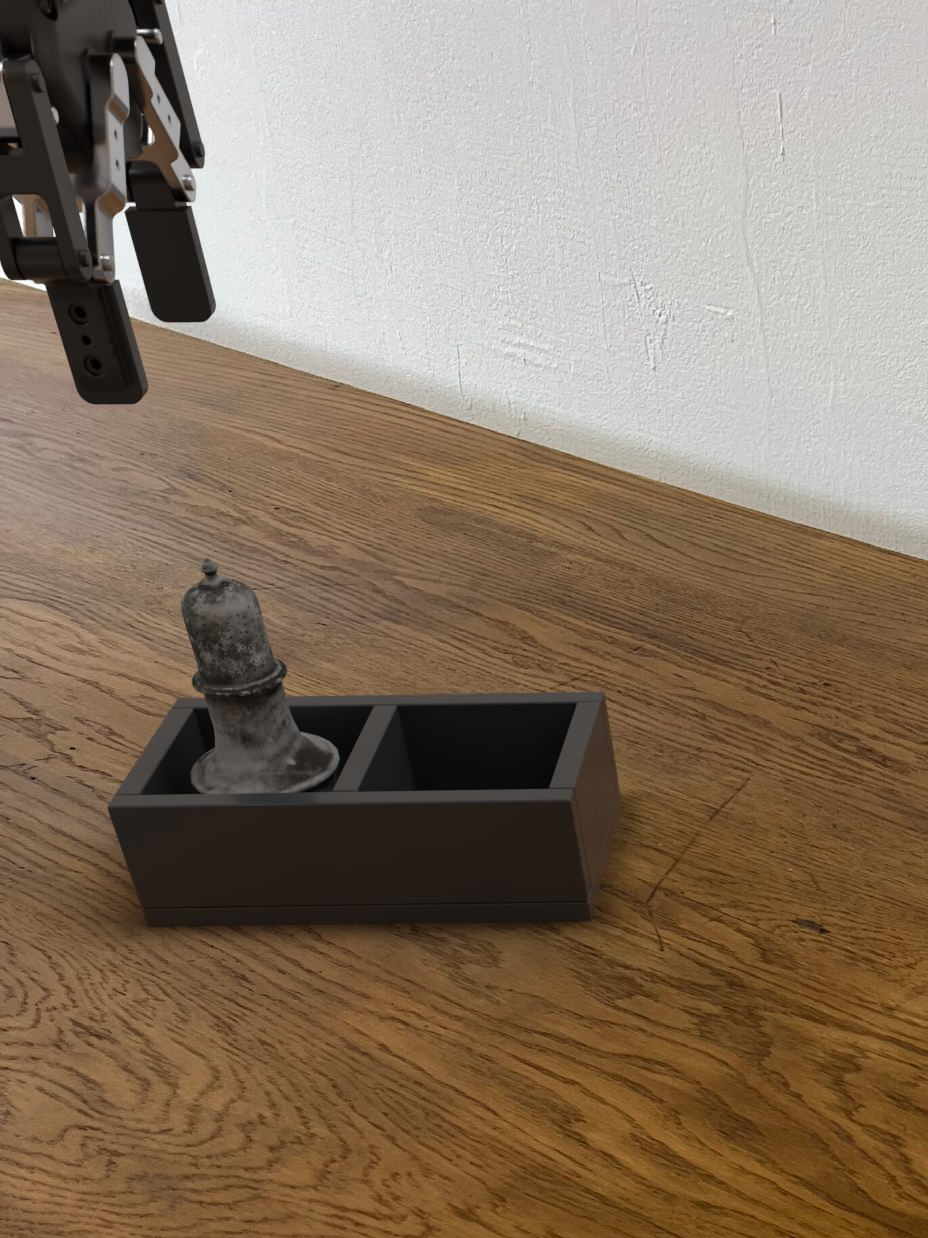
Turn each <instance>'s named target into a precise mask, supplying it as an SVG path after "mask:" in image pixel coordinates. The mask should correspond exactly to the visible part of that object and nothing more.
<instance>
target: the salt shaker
mask: <svg viewBox="0 0 928 1238" xmlns="http://www.w3.org/2000/svg"><path fill="white" fill-rule="evenodd" d="M219 568H220V566H218V565H217V564H215V562H214V560H213V561H212V560H210V558H209V557H205V558H204V559H203V561H202V563H201V566H200V568H199V571H200V572H201V573H202V574H204V577H203V578H201V580H200V581H198V582H196V583H195V584H193V585H192V586H191V587H190V588H189V589H187V591H185V593H184V594H183V597H182V599H181V601H180V609H181V611H180V612H181V615H182V620H183V622H184V625H185V629H186V633H187V636H188V639H189V642H190V646H191V650H192V652H193V656H194V659H195V662H196V667H197V669H198V670H197V671H195V672H194V674H193V675H192V677H191V685H192V687H193V688H194V689H195V690H196V692H198V693H200V694H203V696H204V697H203V698H205V700H206V703H207V707H208V710H209V713H210V717H211V720H212V724H213V727H214V732H215V748H213V749H212V750H210V751H208V752H207V753H205V754H204V755H203V756H202V757H201V758H200V759H199V760H198V761H197V762H196V763H195V764H194V766H193V768H192V771H191V773H190V776H191V782H192V785H193V786H194V787H195V788H196V789H197V791H198V792H200V793H201V794H242V793H310V792H332V791H333V788H334V786H335V784H336V782H337V778H336V774H335V771H336V769H337V767H338V764H339V761H340V758H339V754H338V750H337V748H336V747H335V746H334V745H333V744H332V743H331V742H329V741H328V740H326V739H324V738H321V737H319V736H317V735H312V734H308V733H304V732H300V731H299V729H298V727H297V725H296V724H295V722H294V719H293V717H292V715H291V713H290V709H289V705H288V702H287V698H286V696H287V694H286V691H285V687H284V683H283V680H284V679H285V678H286V676H287V675H288V667H287V664H286V663H285V662H284V661H283V660H282V659H280V658H277V657H275V656H274V653H273V651H272V645H271V642H270V639H269V636H268V632H267V628H266V624H265V620H264V617H263V613H262V610H261V606H260V602H259V599H258V596H257V595H256V592H255V591H254V590H253V589H252V588H251V587H249V585H247V584H246V583H244V582H242V581H240V580H237V579H234V578H230V577H224V576H222V575H218V573H217V572H218V570H219Z"/></svg>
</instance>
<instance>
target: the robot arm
mask: <svg viewBox="0 0 928 1238" xmlns="http://www.w3.org/2000/svg"><path fill="white" fill-rule="evenodd" d="M196 117H197V116H196V114H195V110H194V106H193V103H192V99H191V94H190V91H189V87H188V84H187V80H186V76H185V72H184V68H183V64H182V61H181V57H180V53H179V50H178V45H177V42H176V38H175V35H174V30H173V26H172V23H171V20H170V15H169V12H168V7H167V4H166V0H0V266H1V268H2V271H3V273H4V275H5V276H6V278H7V279H8V280H9V281H32V282H33V283H34V284H36V285H44V287H45V290H46V294H47V297H48V300H49V304H50V307H51V310H52V314H53V317H54V320H55V323H56V326H57V330H58V333H59V336H60V340H61V343H62V347H63V349H64V353H65V357H66V359H67V363H68V366H69V369H70V372H71V376H72V378H73V383H74V386H75V389H76V392H77V394H78V395H79V397H80V398H81V399H82V400H83V401H85V402H87V403H88V404H90V405H96V406H97V405H99V406H100V405H102V406H103V405H106V406H107V405H135V404H138V403H140V401H141V400H142V399H143V398H144V396H145V395H146V394H147V393H148V391H149V382H148V377H147V374H146V370H145V368H144V363H143V360H142V357H141V352H140V349H139V346H138V342H137V339H136V335H135V332H134V327H133V324H132V321H131V317H130V314H129V310H128V307H127V302H126V299H125V295H124V292H123V289H122V285H121V281H120V279H116V257H115V255H116V254H115V239H114V238H115V237H114V218H115V216H116V215H118V214H119V213H121V212H122V211H123V212H124V216H125V219H126V223H127V228H128V230H129V234H130V235H129V236H130V238H131V242H132V246H133V249H134V253H135V256H136V260H137V264H138V268H139V271H140V275H141V278H142V282H143V286H144V290H145V292H146V297H147V300H148V304H149V308H150V311H151V313H152V314H153V316H154V317H155V318H156V319H157V320H159V321H160V322H164V323H166V324H167V323H169V324H170V323H171V324H173V323H177V324H178V323H179V324H180V323H205V322H207V321H208V320H209V319H210V318H211V317H212V315H213V314H215V312H216V310H217V309H216V308H217V303H216V298H215V294H214V290H213V286H212V283H211V278H210V274H209V270H208V266H207V262H206V258H205V255H204V250H203V246H202V242H201V239H200V234H199V231H198V227H197V223H196V218H195V215H194V210H193V207H192V205H188V203H195V202H196V198H197V181H196V179H195V176H194V174H193V171H192V170H193V169H194V170H197V169H198V170H200V169H204V167H205V162H206V159H205V157H206V149H205V146H204V143H203V141H202V137H201V133H200V129H199V126H198V122H197V118H196ZM14 200H16V201H17V203H19V204H20V205H21V220H22V227H21V223H20V219H19V215H18V212H17V208H16V205H15V201H14ZM127 204H135V205H129V206H128V207H127V208H125V207H126V205H127ZM124 209H125V210H124ZM81 214H82V218H81ZM54 235H55V236H54Z"/></svg>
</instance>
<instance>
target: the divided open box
mask: <svg viewBox="0 0 928 1238" xmlns="http://www.w3.org/2000/svg"><path fill="white" fill-rule="evenodd" d="M286 698H287V702H288V705H289V709H290V713H291V715H292V717H293V719H294V722H295V724H296V725H297V727H298V729H299V731H300V732H304V733H308V734H312V735H317V736H319V737H321V738H324V739H326V740H328V741H329V742H331V743H332V744H333V745H334V746H335V747H336V748H337V750H338V754H339V758H340V761H339V764H338V767H337V769H336V771H335V774H336V778H337V782H336V784H335V786H334V788H333V791H332V792H310V793H242V794H201V793H200V792H198V791H197V789H196V788H195V787H194V786H193V785H192V782H191V776H190V773H191V771H192V768H193V766H194V764H195V763H196V762H197V761H198V760H199V759H200V758H201V757H202V756H203V755H204V754H205V753H207V752H208V751H210V750H212V749H213V748H215V732H214V727H213V724H212V720H211V717H210V713H209V710H208V707H207V703H206V700H205V697H178V698H176V700H175V701H174V703H173V705H172V706H171V708H169V710H168V712H167V713H166V714H165V716H164V718H163V720H162V721H161V722H160V724H159V726H158V727H157V729H156V730H155V732H153V735H152V737H151V738H150V739H149V741H148V743H147V744H146V745H145V747H144V749H143V750H142V752H141V753H140V754H139V757H138V758H137V759H136V761H135V762H134V764H133V766H132V767H131V768H130V770H129V772H128V773H127V775H126V776H125V778H124V780H123V781H122V782H121V784H120V785H119V787H118V789H117V790H116V791H115V794H114V796H113V797H112V799H111V800H110V801H109V803H108V805H107V807H106V809H107V811H108V815H109V817H110V820H111V823H112V826H113V829H114V832H115V835H116V837H117V841H118V843H119V846H120V849H121V852H122V855H123V858H124V861H125V865H126V867H127V870H128V872H129V875H130V878H131V882H132V884H133V888H134V890H135V893H136V896H137V899H138V901H139V902H138V903H139V904H140V907H141V911H142V914H143V917H144V920H145V923H146V926H147V928H186V927H187V928H189V927H190V928H191V927H196V928H197V927H257V926H258V927H259V926H262V927H263V926H322V925H325V926H326V925H327V926H328V925H330V926H331V925H389V924H390V925H391V924H393V925H395V924H397V925H398V924H399V925H400V924H457V923H458V924H463V923H464V924H466V923H469V924H470V923H521V922H522V923H527V922H528V923H529V922H530V923H533V922H536V923H537V922H538V923H539V922H590V921H592V920H593V918H594V917H593V916H594V913H595V910H596V906H597V903H598V899H599V896H600V895H599V894H600V892H601V888H602V884H603V881H604V877H605V874H606V870H607V867H608V863H609V858H610V855H611V851H612V848H613V844H614V841H615V836H616V834H617V830H618V825H619V822H620V818H621V815H622V812H623V808H624V807H623V801H622V794H621V790H620V783H619V777H618V770H617V763H616V757H615V751H614V745H613V739H612V738H613V737H612V733H611V727H610V720H609V713H608V707H607V701H606V694H605V692H604V691H565V692H564V691H563V692H562V691H558V692H557V691H556V692H553V691H552V692H547V691H546V692H498V693H497V692H489V693H488V692H487V693H486V692H485V693H433V694H432V693H427V694H426V693H422V694H419V693H418V694H361V695H360V694H357V695H355V694H353V695H352V694H351V695H350V694H349V695H295V696H294V695H293V696H292V695H289V696H288V695H286Z"/></svg>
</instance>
